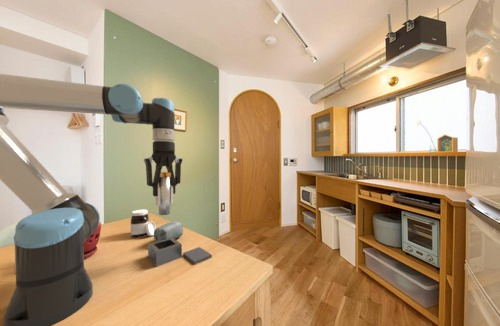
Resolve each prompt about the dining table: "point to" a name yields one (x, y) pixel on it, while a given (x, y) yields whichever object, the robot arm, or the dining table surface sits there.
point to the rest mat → (197, 255)
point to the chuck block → (164, 251)
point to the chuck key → (164, 193)
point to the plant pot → (92, 242)
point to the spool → (168, 231)
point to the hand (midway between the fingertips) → (164, 203)
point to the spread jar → (141, 224)
